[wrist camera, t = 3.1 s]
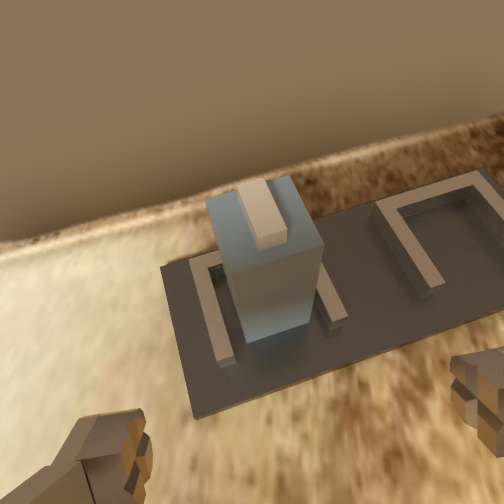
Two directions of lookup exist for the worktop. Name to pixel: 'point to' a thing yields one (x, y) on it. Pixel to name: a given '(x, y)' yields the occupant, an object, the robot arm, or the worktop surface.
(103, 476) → the robot arm
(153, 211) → the worktop surface
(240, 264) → the plug
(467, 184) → the panel
